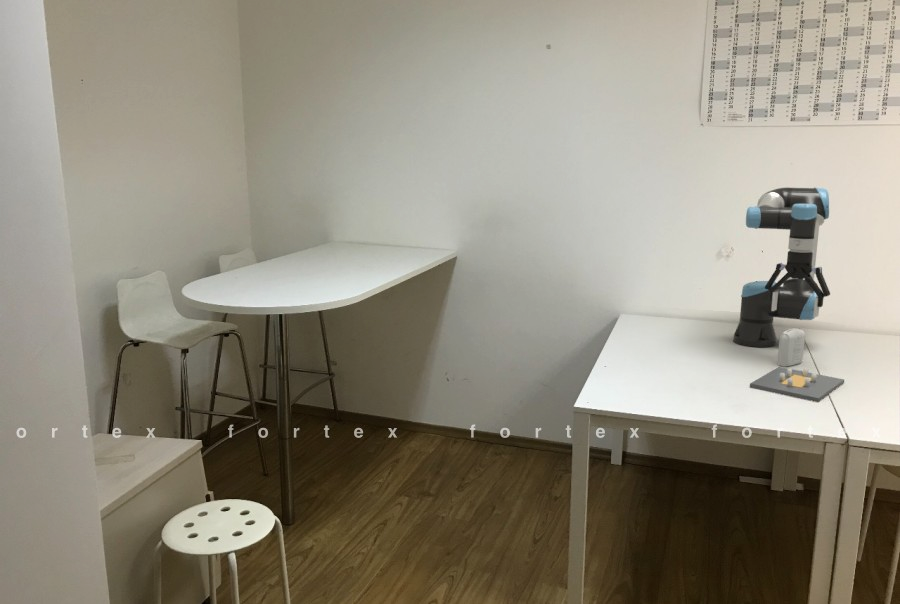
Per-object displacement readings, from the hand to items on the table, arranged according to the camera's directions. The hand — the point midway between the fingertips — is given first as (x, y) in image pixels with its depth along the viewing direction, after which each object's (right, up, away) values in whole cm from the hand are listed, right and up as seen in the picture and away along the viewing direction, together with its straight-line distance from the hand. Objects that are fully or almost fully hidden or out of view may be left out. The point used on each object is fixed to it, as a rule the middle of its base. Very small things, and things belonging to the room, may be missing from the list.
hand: (794, 313), depth 246 cm
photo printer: (0, -18, +4) cm, 18 cm away
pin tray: (-8, -22, -18) cm, 30 cm away
